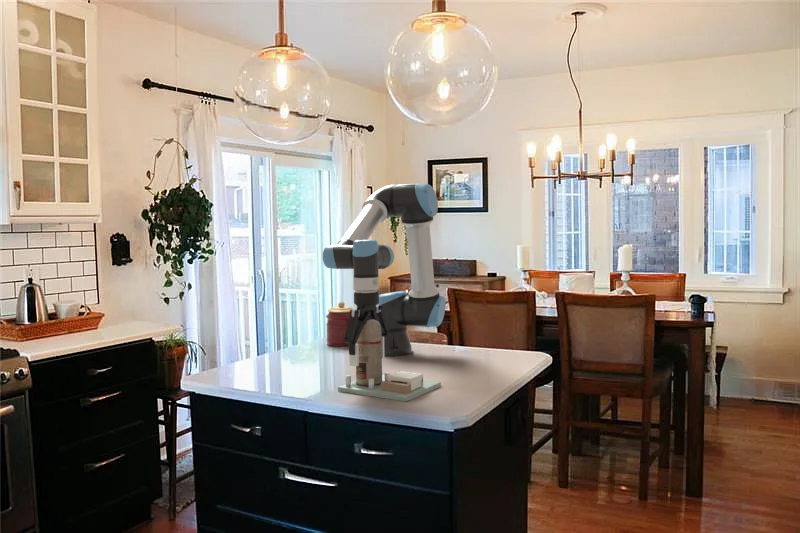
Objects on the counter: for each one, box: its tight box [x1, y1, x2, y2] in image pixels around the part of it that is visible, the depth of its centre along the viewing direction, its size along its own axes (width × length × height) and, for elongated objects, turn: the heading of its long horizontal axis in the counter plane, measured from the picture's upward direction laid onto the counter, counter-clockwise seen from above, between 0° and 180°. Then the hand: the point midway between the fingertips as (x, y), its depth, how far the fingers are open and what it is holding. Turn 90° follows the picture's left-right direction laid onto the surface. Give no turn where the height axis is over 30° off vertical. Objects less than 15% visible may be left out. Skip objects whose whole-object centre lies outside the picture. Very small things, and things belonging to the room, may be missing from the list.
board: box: [337, 372, 442, 403], centre depth 198 cm, size 24×20×4 cm
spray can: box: [355, 319, 383, 385], centre depth 199 cm, size 8×8×20 cm
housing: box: [388, 370, 424, 391], centre depth 194 cm, size 8×7×4 cm
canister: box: [325, 301, 356, 347], centre depth 273 cm, size 13×13×18 cm
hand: (367, 361), depth 198 cm, fingers open, 13 cm apart
